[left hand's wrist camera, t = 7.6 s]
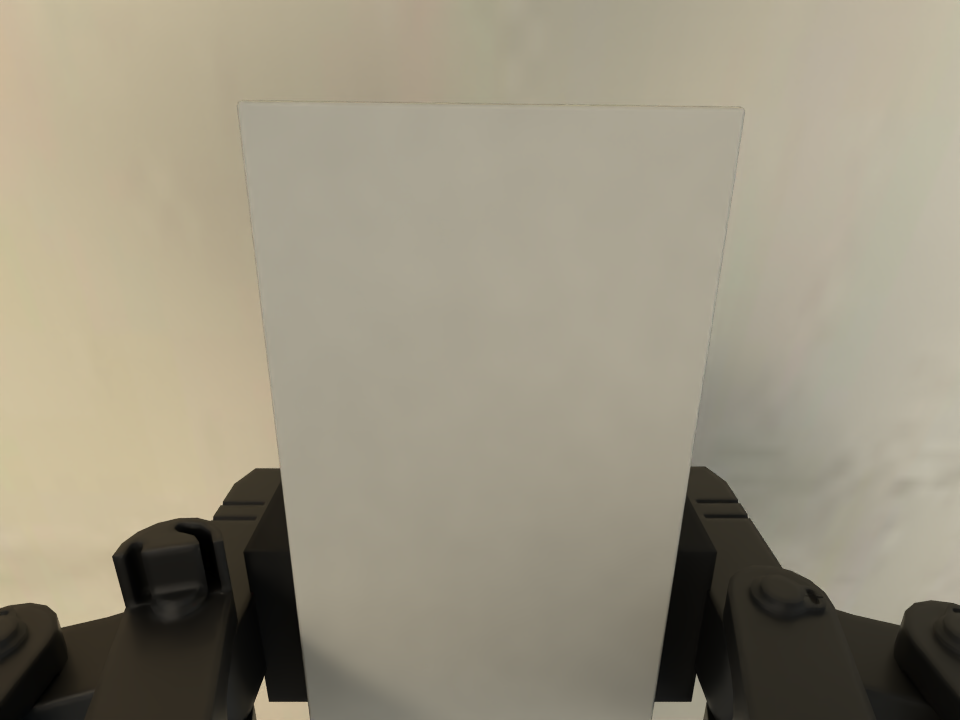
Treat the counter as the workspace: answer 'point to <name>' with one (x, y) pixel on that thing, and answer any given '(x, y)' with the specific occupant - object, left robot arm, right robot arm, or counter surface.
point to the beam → (485, 391)
